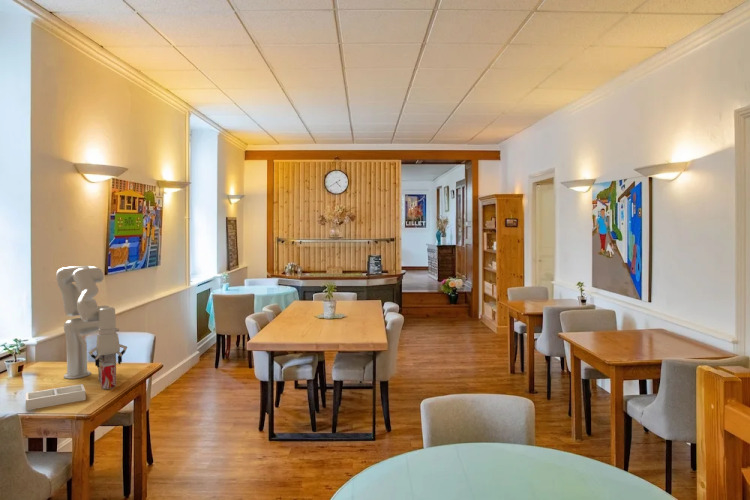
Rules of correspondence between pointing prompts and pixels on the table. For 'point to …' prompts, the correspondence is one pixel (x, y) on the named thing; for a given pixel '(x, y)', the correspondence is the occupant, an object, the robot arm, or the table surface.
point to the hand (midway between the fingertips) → (108, 365)
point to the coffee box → (106, 359)
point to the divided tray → (55, 396)
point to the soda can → (108, 376)
